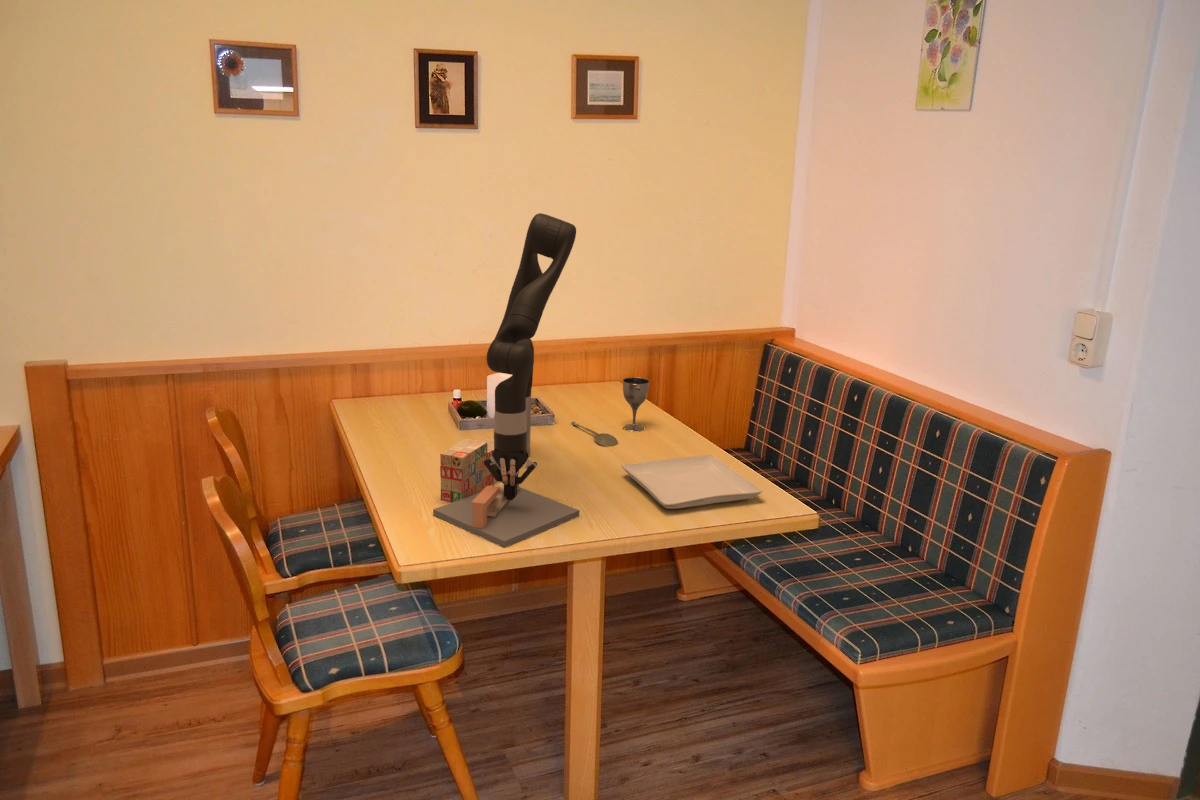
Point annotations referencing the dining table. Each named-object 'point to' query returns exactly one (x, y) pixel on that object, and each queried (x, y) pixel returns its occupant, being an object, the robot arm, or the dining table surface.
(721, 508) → the dining table surface
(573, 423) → the soupspoon
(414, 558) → the dining table surface
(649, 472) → the square plate
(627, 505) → the dining table surface
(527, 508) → the board
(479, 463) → the stack of blocks
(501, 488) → the arm link
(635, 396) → the wine glass
